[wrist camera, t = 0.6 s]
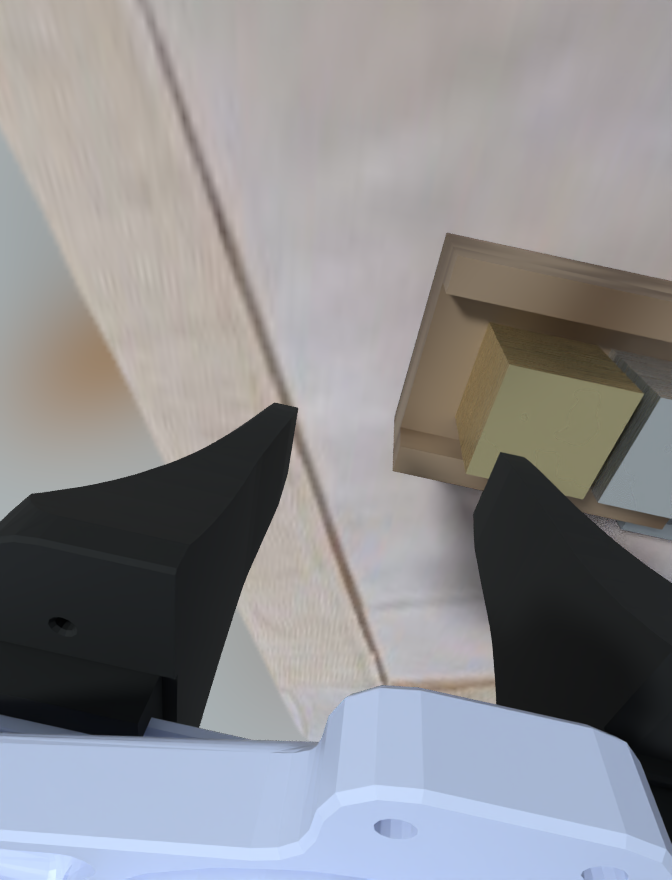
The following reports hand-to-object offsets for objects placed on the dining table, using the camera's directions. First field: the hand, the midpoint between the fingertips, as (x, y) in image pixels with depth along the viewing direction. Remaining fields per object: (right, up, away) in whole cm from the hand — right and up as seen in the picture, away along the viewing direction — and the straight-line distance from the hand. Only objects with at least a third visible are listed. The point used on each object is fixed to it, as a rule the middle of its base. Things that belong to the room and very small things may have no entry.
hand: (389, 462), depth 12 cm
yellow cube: (+6, +3, +6) cm, 9 cm away
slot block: (+8, +4, +9) cm, 12 cm away
